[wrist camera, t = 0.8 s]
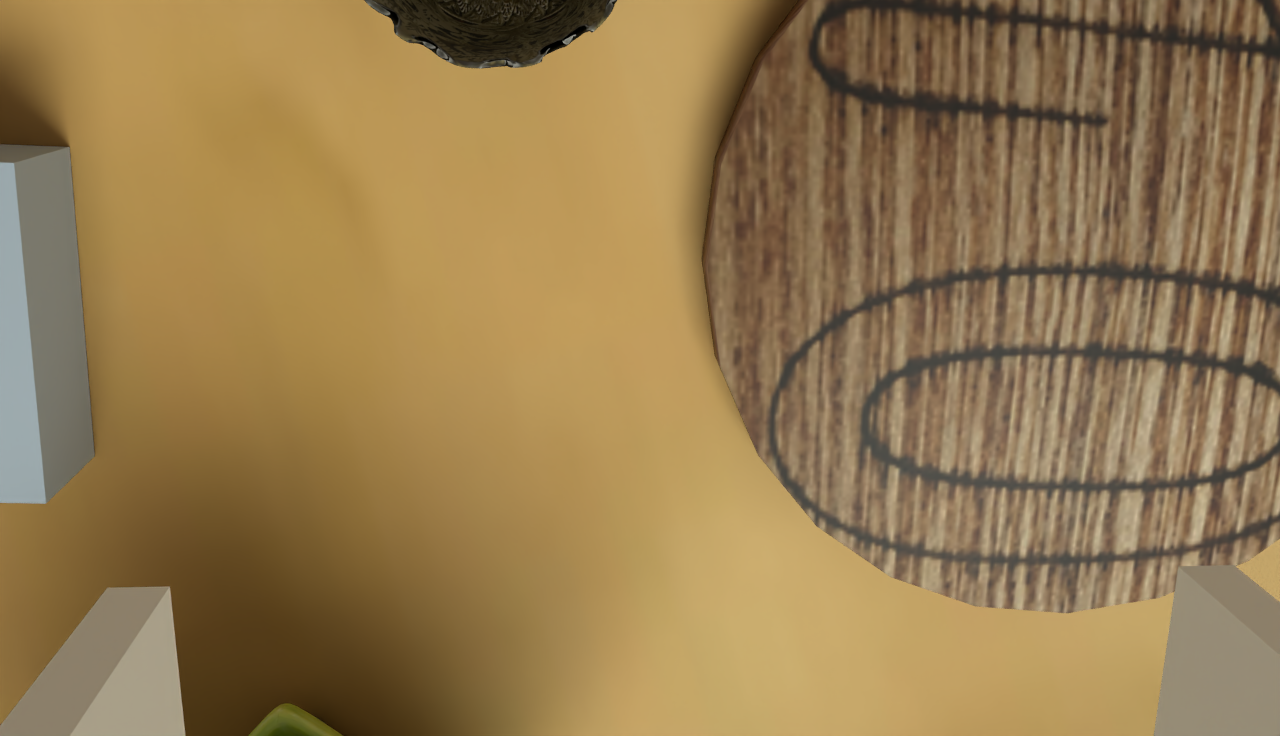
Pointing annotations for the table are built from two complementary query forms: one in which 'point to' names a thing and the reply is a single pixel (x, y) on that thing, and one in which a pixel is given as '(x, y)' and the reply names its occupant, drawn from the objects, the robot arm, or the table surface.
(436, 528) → the table surface
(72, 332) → the bore block
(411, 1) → the ornate candle holder
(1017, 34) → the trivet
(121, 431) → the table surface
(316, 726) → the flower pot
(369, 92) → the table surface
